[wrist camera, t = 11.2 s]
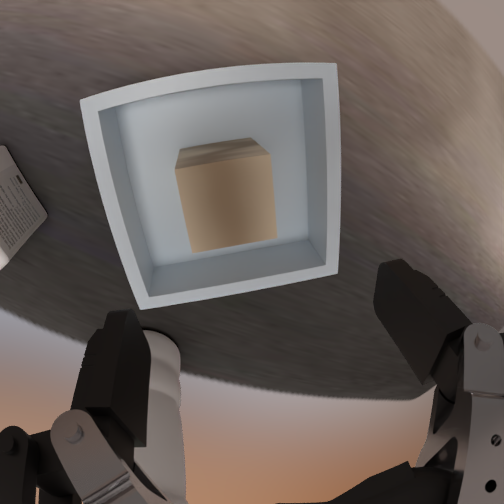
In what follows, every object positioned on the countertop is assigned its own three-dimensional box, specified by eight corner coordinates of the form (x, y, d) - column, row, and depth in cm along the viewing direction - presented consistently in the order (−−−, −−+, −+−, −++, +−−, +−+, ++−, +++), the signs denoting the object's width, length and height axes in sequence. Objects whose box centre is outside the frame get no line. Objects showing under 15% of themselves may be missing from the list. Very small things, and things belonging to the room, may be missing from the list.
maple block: (250, 137, 20) (270, 154, 15) (257, 202, 23) (277, 238, 18) (179, 148, 20) (174, 169, 15) (192, 213, 23) (192, 253, 17)
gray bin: (307, 67, 19) (336, 63, 15) (315, 242, 27) (337, 273, 23) (103, 97, 18) (79, 99, 14) (147, 272, 25) (140, 309, 21)
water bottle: (102, 343, 29) (81, 579, 7) (150, 315, 28) (151, 597, 7) (146, 377, 32) (152, 586, 11) (193, 355, 31) (223, 590, 10)
